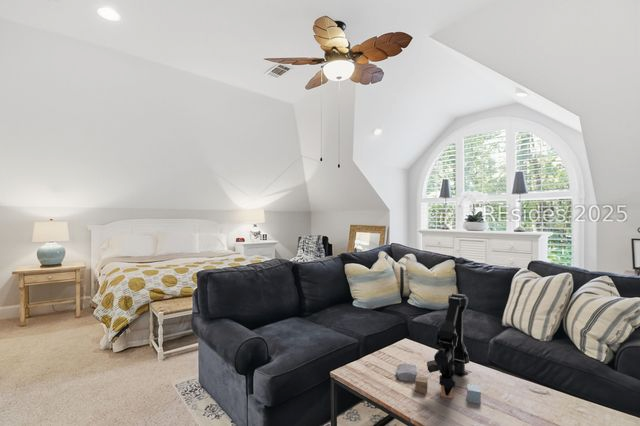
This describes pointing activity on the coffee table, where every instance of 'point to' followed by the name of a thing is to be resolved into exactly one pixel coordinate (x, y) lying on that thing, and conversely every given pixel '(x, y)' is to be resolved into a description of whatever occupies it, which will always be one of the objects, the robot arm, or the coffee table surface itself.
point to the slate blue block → (473, 394)
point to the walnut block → (421, 384)
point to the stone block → (406, 372)
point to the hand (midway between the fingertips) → (446, 391)
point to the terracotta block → (445, 394)
